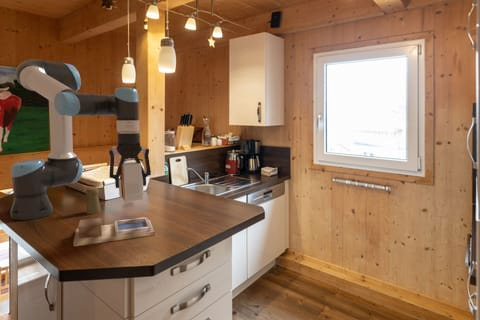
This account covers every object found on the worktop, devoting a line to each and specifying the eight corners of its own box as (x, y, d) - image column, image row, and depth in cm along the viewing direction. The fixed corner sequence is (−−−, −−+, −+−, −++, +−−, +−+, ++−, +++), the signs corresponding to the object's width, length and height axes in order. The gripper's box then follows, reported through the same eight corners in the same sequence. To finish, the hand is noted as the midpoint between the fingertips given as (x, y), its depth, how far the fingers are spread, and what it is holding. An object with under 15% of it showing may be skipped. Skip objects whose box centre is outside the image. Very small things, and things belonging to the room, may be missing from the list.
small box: (120, 196, 116) (118, 162, 114) (137, 194, 119) (136, 161, 117) (124, 202, 109) (122, 165, 107) (143, 199, 112) (141, 163, 110)
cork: (97, 209, 142) (95, 185, 140) (103, 211, 138) (102, 187, 136) (83, 212, 137) (81, 187, 135) (90, 215, 133) (88, 190, 132)
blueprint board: (73, 246, 102) (72, 231, 101) (76, 231, 115) (75, 218, 114) (154, 234, 112) (154, 221, 111) (149, 222, 125) (149, 210, 124)
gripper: (97, 133, 103) (102, 201, 106) (158, 132, 111) (160, 195, 114) (98, 132, 110) (102, 195, 113) (155, 131, 118) (157, 190, 121)
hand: (131, 195), depth 114 cm, fingers closed on small box, 7 cm apart
